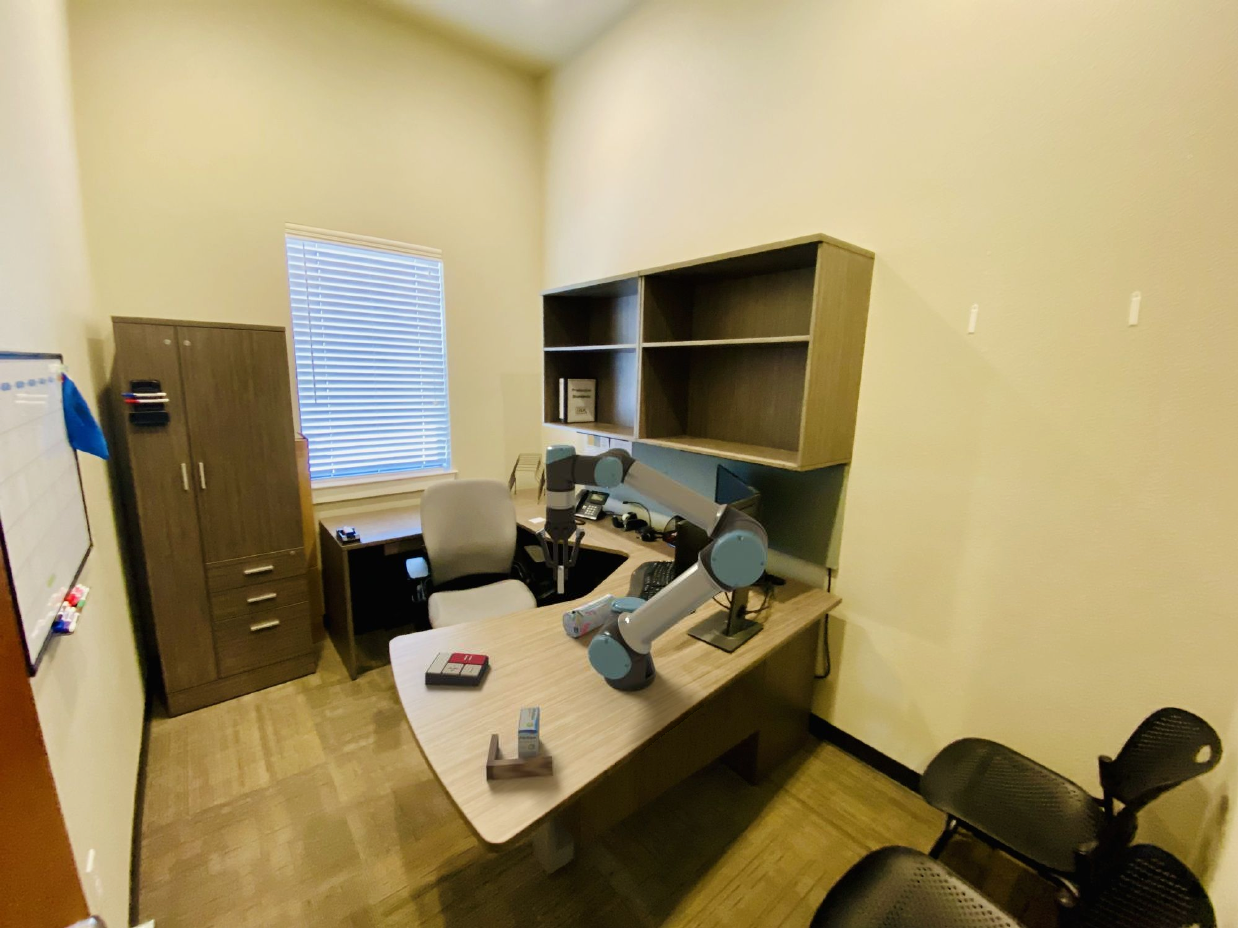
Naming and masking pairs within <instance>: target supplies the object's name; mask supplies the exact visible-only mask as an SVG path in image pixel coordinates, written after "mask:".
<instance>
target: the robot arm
mask: <svg viewBox="0 0 1238 928" xmlns="http://www.w3.org/2000/svg"><path fill="white" fill-rule="evenodd" d="M544 465H545V504H546V506H545V524H544V526H543V527H542V528H541V529H537V530H536V533H535V536H536V538H537V540H538V541H539V543H540V546H541V549H542V550H541V551H542V553H543V554H542V555H543V557H544V562H545V565H546V567H547V568H552V569H553V580H554V581H557V594H564V592H565V588H564V583H565V581H567V580H568V579H569V569H570V568H571V567H575V566H576V562H577V558H578V555H579V550H580V547H581V542H582V540H583V538H584V537H585V535H586V532H585V529H583V528H580V527H578V524H577V523H576V506H575V504H576V485H578V486H579V485H580V486H587V487H588V486H589V487H598V488H602V489H606V488H607V489H608V488H614V489H615V488H617V487H618V486H620V484H622V485H624V486H626V487H628V488H630V489H631V490H633V491H635V492H636V493H638V494H640V495H642V496H644V497H645V498H647V499H649V500H650V501H653V502H654V503H656V504H658V505H660V506H662V507H664V508H665V509H666V510H668V511H670V512H672V513H674V514H676V515H678V516H679V517H681V518H683V519H684V520H686V521H688V522H690V523H691V524H692V525H693V524H694V525H695V526H697V527H699V528H701V529H703V530H705V531H706V533H707V536H708V538H710V539H712V540H713V541H711V542H710V543H709V544H708V545H706V546H705V547H704V548H703V549H702V550H700V551H699V552H698V558H697V559H698V560H697V562H695V563H693V565H692V566H690V567H689V568H687V570H685V571H684V572H683V573H681V574H680V575H679V576H677V577H676V578H675V579H673V581H671V582H670V583H668V584H667V585H666V586H665V587H663V588H661V590H659V591H658V592H657V593H656V594H655V595H653V596H651V598H649V599H648V600H646V599H643V598H639V597H634V596H621V597H616V599H614V600H613V601H612V603H611V607H610V609H611V615H610V617H609V619H608V620H607V621H606V623H605V624H603V625H602V626H601V628H600V629H599V631H598V632H597V634H596V635H595V636H594V637H593V638H592V639H591V641H590V644H589V645H588V649H587V652H588V653H587V655H588V656H587V657H588V661H589V663H590V665H591V666H592V669H593V670H595V672H596V673H597V674H599V675H600V676H602V677H603V678H604V680H605V682H606V683H607V684H608V685H609V686H611V687H612V688H614V689H617V690H621V691H627V692H632V691H639V690H644V689H646V688H649V687H650V686H651V685H652V684H653V683H654V681H655V679H656V666H655V663H654V659H653V657H652V653H651V650H652V645H653V643H652V642H654V641H655V640H657V639H658V638H659V637H661V636H662V635H664V634H665V633H666V632H668V631H669V630H670V629H671V628H673V627H675V625H677V624H679V623H680V622H681V621H683V620H684V619H685V618H687V617H688V616H689V615H691V614H692V613H694V612H695V611H696V610H697V609H699V608H700V607H701V606H703V605H704V604H706V603H707V602H709V600H711V599H713V598H714V597H715V596H717V595H718V594H719V593H721V592H723V593H727V594H731V593H732V592H733V591H735V590H736V589H738V588H742V587H743V588H744V587H747V586H749V585H753V584H754V583H755V582H756V581H757V580H759V578H760V577H761V576H762V575H763V573H764V571H765V569H766V566H767V563H768V547H769V538H768V534H767V532H766V529H765V528H764V527H763V526H762V524H761V523H759V522H758V521H757V520H756V519H755V518H753V517H751V516H749V515H747V514H746V513H744V512H742V511H740V510H739V509H736V508H734V507H733V506H731V505H729V504H727V503H724V504H719V503H717V502H715V501H713V500H712V499H710V498H708V497H705V496H704V495H702V494H700V493H698V492H697V491H695V490H692V489H691V488H689V487H687V486H686V485H683V484H682V483H679V482H678V481H676V480H674V479H672V478H670V477H669V476H667V475H665V474H663V473H661V472H660V471H658V470H655V468H652V467H650V466H649V465H647V464H645V463H643V462H641V461H639V460H637V459H636V458H634V457H633V456H632V454H631V453H630V452H629V451H628V450H627V449H625V448H622V447H614V448H610V449H608V450H607V451H605V452H601V453H599V454H596V455H587V454H586V455H584V454H577V451H576V448H575V446H573V445H569V444H554V445H550V446H548V447H547V448H546V450H545V462H544ZM547 534H548V536H549V537H550V539H551V540H552V541H553V542H552V543H553V550H552V551H553V552H552V553H553V555H552V556H553V560H552V559H551V556H550V552H549V549H548V544H547V541H546V535H547ZM573 534H575V540H574V542H573V547H572V551H571V555H570V560H569V539H571V537H572V536H573ZM559 541H562V543H563V544H562V549H563V551H562V554H563V555H562V565H559Z"/></svg>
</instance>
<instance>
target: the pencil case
mask: <svg viewBox="0 0 1238 928" xmlns="http://www.w3.org/2000/svg"><path fill="white" fill-rule="evenodd" d="M614 599H617V597H616V596H615V595H614V594H610V593H607V594H605V595H604V596H601V597H599V598H597V599H595V600H593V601H591V602H588V603H586V604H584V605H581V606H579V607H576V608H574V609H570V610H567V611H565V612H564V613H563V615H562V626H563V627H562V628H563V629H564V631H565V633H566V634H568V635H569V636H570V637H572V638H577V637H581V636H583V635H584V634H587V633H588V632H590V631H593V630H594V629H597V628H598V627H602V626H603V625H604V624H605V623H606V621H607V620H608V619H609V617H610V615H611V609H610V607H611V603H612V601H613V600H614Z"/></svg>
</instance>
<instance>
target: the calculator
mask: <svg viewBox="0 0 1238 928" xmlns="http://www.w3.org/2000/svg"><path fill="white" fill-rule="evenodd" d="M489 662H490V657H489V656H488V655H486V654H478V653H477V654H476V653H475V654H474V653H463V652H453V653H452V652H442V651H441V652H438V654H437V655H436V657H435V658H434V660H433V661H432V663H431V664H430V666H429V667H428V669H427V670H426V672H425V675H424V685H425V686H441V685H444V686H455V687H456V686H458V687H479V686H480V683H481V681H482V679H483V677H484V675H485V673H486V671H487V670H488V669H487V668H488V667H489Z"/></svg>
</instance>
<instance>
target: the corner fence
mask: <svg viewBox="0 0 1238 928" xmlns="http://www.w3.org/2000/svg"><path fill="white" fill-rule="evenodd" d="M499 737H500V735H499V733H492V734H491V737H490V742H489V749H488V754H487V759H486V765H485V767H486V768H485V769H486V770H485V771H486V772H485V773H486V781H495V780H496V781H497V780H508V779H509V780H510V779H522V778H535V777H545V776H546V777H547V776H553V755H548V756H547V755H545V756H538V757H531V758H518V757H517V758H509V759H507V758H506V759H504V758H503V759H498V755H499V745H500V744H499V740H500V739H499Z"/></svg>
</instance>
